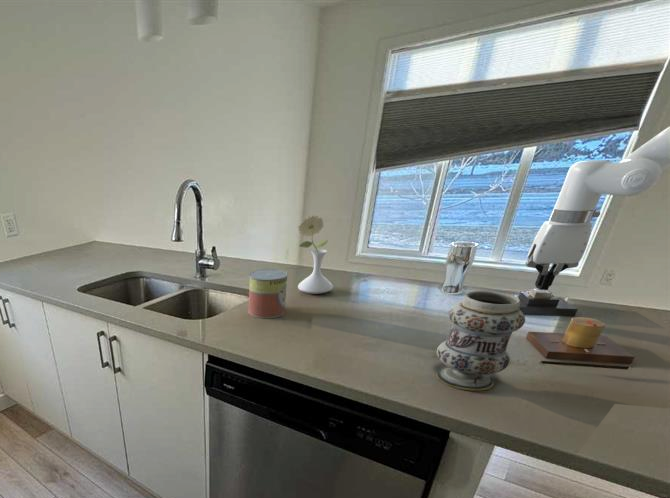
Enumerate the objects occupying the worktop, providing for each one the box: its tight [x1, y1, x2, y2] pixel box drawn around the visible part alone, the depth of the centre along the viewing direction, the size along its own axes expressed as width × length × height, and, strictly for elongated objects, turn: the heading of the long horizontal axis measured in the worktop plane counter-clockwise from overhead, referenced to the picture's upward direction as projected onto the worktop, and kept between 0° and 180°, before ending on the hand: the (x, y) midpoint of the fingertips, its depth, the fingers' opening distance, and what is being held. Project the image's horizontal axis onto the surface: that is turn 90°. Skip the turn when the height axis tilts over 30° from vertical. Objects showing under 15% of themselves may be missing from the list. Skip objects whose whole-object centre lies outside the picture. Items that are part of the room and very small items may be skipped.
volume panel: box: [525, 331, 636, 370], centre depth 89 cm, size 14×11×3 cm
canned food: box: [247, 268, 289, 319], centre depth 125 cm, size 11×11×12 cm
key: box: [528, 288, 553, 298], centre depth 111 cm, size 4×4×2 cm
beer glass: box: [439, 241, 479, 296], centre depth 126 cm, size 7×7×15 cm
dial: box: [562, 316, 606, 348], centre depth 87 cm, size 5×5×5 cm
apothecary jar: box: [435, 290, 526, 392], centre depth 81 cm, size 12×12×18 cm
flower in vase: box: [297, 215, 334, 295], centre depth 135 cm, size 13×11×25 cm
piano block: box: [514, 291, 578, 318], centre depth 112 cm, size 14×10×4 cm
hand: (541, 288), depth 110 cm, fingers closed
